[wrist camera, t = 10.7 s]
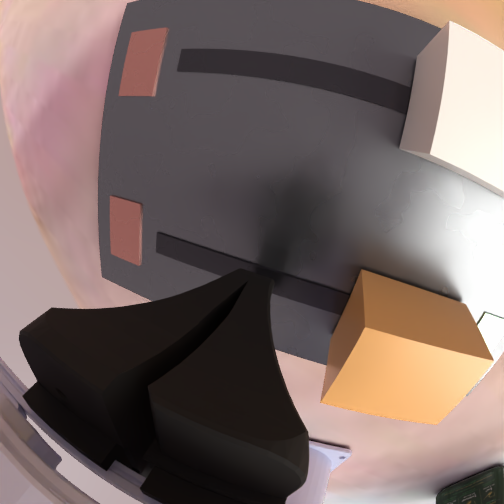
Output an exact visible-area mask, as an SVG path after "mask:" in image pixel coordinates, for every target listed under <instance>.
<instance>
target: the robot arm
mask: <svg viewBox="0 0 504 504" xmlns="http://www.w3.org/2000/svg"><path fill="white" fill-rule="evenodd" d="M274 284H275V282H274V280H273V279H272V278H269V277H266V276H263V275H260V274H257V273H254V272H251V271H248V270H245V269H242V268H239V269H237V270H235V271H233V272H231V273H229V274H226V275H224V276H222V277H220V278H218V279H216V280H214V281H211V282H209V283H207V284H205V285H202V286H200V287H197V288H194V289H192V290H189V291H186V292H184V293H181V294H178V295H175V296H171V297H168V298H164V299H160V300H156V301H152V302H148V303H142V304H136V305H130V306H124V307H115V308H102V309H65V308H51V309H49V310H48V311H46V312H45V313H44V314H42V315H41V316H40V317H38V318H37V319H36V320H34V321H33V322H31V323H30V324H29V325H27V326H26V327H25V328H24V329H22V330H21V331H20V335H19V341H20V346H21V348H22V351H23V353H24V355H25V357H26V359H27V362H28V364H29V365H30V368H31V370H32V371H33V373H34V375H35V377H36V379H37V382H36V383H35V384H34V385H33V386H32V387H31V388H30V389H28V388H27V387H26V386H25V385H24V384H23V383H22V382H21V380H19V378H18V377H17V376H16V375H15V374H14V373H13V372H12V370H11V369H10V368H9V367H8V366H7V365H6V364H5V362H4V361H3V360H2V359H1V357H0V504H100V503H98V502H96V501H95V500H94V499H92V498H91V497H89V496H88V495H87V494H85V493H84V492H82V491H81V490H80V489H79V488H77V487H76V486H75V485H73V484H72V483H71V482H70V481H68V480H67V479H66V478H65V477H63V476H62V475H61V474H60V473H59V472H58V471H56V467H57V465H58V464H59V463H60V462H61V461H62V459H61V457H60V456H59V455H58V454H57V453H56V452H55V451H54V450H53V449H52V448H51V447H50V446H49V445H48V444H47V443H46V442H45V441H44V439H43V438H42V437H41V436H40V435H39V433H38V432H37V431H36V430H35V428H33V426H32V425H31V424H30V423H29V422H28V421H27V420H26V419H27V416H26V414H27V415H28V416H29V417H30V418H31V419H32V420H33V421H34V422H35V423H36V424H37V425H38V426H39V427H40V428H41V429H42V430H43V431H44V432H45V433H46V434H48V436H49V437H50V438H51V439H53V440H54V441H55V442H56V443H57V444H58V445H60V446H61V447H62V448H63V449H64V450H65V451H66V452H68V453H69V454H70V455H71V456H73V457H74V458H75V459H76V460H78V461H79V462H80V463H82V464H83V465H84V466H85V467H87V468H88V469H90V470H91V471H92V472H94V473H95V474H97V475H98V476H99V477H101V478H102V479H104V480H105V481H107V482H108V483H110V484H111V485H113V486H114V487H116V488H118V489H119V490H121V491H122V492H124V493H126V494H127V495H129V496H131V497H133V498H134V499H136V500H138V501H140V502H142V503H143V504H323V503H324V499H325V494H326V490H327V486H328V481H329V476H330V472H331V471H333V470H334V469H335V468H336V467H338V466H339V465H340V464H341V463H343V462H344V461H345V460H346V459H348V458H349V457H350V456H351V454H352V451H351V450H350V449H346V448H341V447H336V446H331V445H326V444H322V443H318V442H313V441H309V436H308V431H307V429H306V427H305V425H304V423H303V422H302V420H301V418H300V416H299V414H298V412H297V410H296V408H295V406H294V404H293V401H292V399H291V397H290V395H289V392H288V390H287V387H286V384H285V381H284V379H283V376H282V373H281V370H280V367H279V364H278V360H277V356H276V352H275V347H274V342H273V336H272V328H271V316H270V300H271V295H272V291H273V288H274Z"/></svg>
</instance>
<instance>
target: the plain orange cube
mask: <svg viewBox="0 0 504 504" xmlns="http://www.w3.org/2000/svg"><path fill="white" fill-rule="evenodd" d="M493 362H494V359H493V357H492V355H491V353H490V350H489V348H488V346H487V344H486V342H485V340H484V338H483V336H482V334H481V332H480V330H479V328H478V326H477V324H476V322H475V320H474V318H473V316H472V314H471V312H470V311H469V309H468V307H467V305H466V304H464V303H461V302H459V301H456V300H453V299H450V298H447V297H444V296H441V295H438V294H435V293H432V292H429V291H426V290H423V289H420V288H417V287H414V286H411V285H408V284H405V283H402V282H399V281H396V280H393V279H390V278H387V277H384V276H381V275H378V274H375V273H372V272H369V271H366V270H363V269H361V271H360V274H359V276H358V279H357V281H356V284H355V286H354V289H353V291H352V293H351V296H350V298H349V300H348V302H347V305H346V307H345V309H344V311H343V314H342V316H341V318H340V320H339V322H338V325H337V327H336V329H335V331H334V333H333V335H332V337H331V339H330V346H329V353H328V360H327V366H326V373H325V379H324V384H323V390H322V396H321V401H320V403H324V404H327V405H331V406H335V407H339V408H343V409H348V410H352V411H356V412H361V413H366V414H371V415H376V416H381V417H386V418H392V419H398V420H404V421H411V422H418V423H426V424H434V425H437V424H438V423H439V422H440V421H441V420H442V419H443V418H444V417H445V416H446V415H447V414H448V413H449V412H450V411H451V410H452V409H453V408H454V407H455V406H456V405H457V404H458V403H459V402H460V401H461V400H462V399H463V398H464V397H465V396H466V395H467V393H468V392H469V391H470V390H471V389H472V388H473V387H474V386H475V384H476V383H477V382H478V381H479V380H480V378H481V377H482V376H483V375H484V374H485V372H486V371H487V370H488V368H489V367H490V366H491V365H492V363H493Z"/></svg>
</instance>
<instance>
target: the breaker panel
mask: <svg viewBox="0 0 504 504" xmlns="http://www.w3.org/2000/svg"><path fill="white" fill-rule="evenodd" d="M440 30H441V28H438V27H436V26H434V25H431V24H429V23H427V22H424V21H422V20H419V19H416V18H414V17H411V16H408V15H406V14H403V13H400V12H397V11H394V10H390V9H387V8H384V7H381V6H377V5H373V4H370V3H366V2H362V1H358V0H139V1H134V2H130V3H127V6H126V9H125V12H124V16H123V19H122V23H121V26H120V30H119V34H118V38H117V42H116V46H115V50H114V55H113V59H112V64H111V69H110V74H109V80H108V85H107V91H106V98H105V105H104V113H103V121H102V131H101V142H100V156H99V177H98V223H99V245H100V260H101V271H102V277H103V278H105V279H107V280H109V281H111V282H113V283H115V284H117V285H120V286H122V287H124V288H126V289H128V290H130V291H132V292H134V293H136V294H138V295H141V296H143V297H145V298H147V299H149V300H151V301H156V300H160V299H164V298H168V297H171V296H175V295H178V294H181V293H184V292H186V291H189V290H192V289H194V288H197V287H200V286H202V285H205V284H207V283H209V282H211V281H214V280H216V279H218V278H220V277H222V276H224V275H226V274H229V273H231V272H233V271H235V270H237V269H239V268H242V269H245V270H248V271H251V272H254V273H257V274H260V275H263V276H266V277H269V278H272V279H273V280H274V282H275V284H274V288H273V291H272V295H271V300H270V316H271V328H272V336H273V342H274V347H275V349H276V350H279V351H282V352H285V353H288V354H291V355H294V356H297V357H301V358H304V359H307V360H310V361H314V362H317V363H320V364H324V365H327V360H328V353H329V346H330V339H331V337H332V335H333V333H334V331H335V329H336V327H337V325H338V322H339V320H340V318H341V316H342V314H343V311H344V309H345V307H346V305H347V302H348V300H349V298H350V296H351V293H352V291H353V289H354V286H355V284H356V281H357V279H358V276H359V274H360V271H361V269H363V270H366V271H369V272H372V273H375V274H378V275H381V276H384V277H387V278H390V279H393V280H396V281H399V282H402V283H405V284H408V285H411V286H414V287H417V288H420V289H423V290H426V291H429V292H432V293H435V294H438V295H441V296H444V297H447V298H450V299H453V300H456V301H459V302H461V303H464V304H466V305H467V307H468V309H469V311H470V312H471V314H472V316H473V318H474V320H475V322H476V324H477V326H478V328H479V330H480V332H481V334H482V336H483V338H484V340H485V342H486V344H487V346H488V348H489V350H490V353H491V355H492V357H493V359H494V362H493V363H492V365H491V366H490V367H489V368H488V370H487V371H486V372H485V374H484V375H483V376H482V377H481V378H480V380H479V381H478V382H477V383H476V384H475V386H474V387H473V388H472V389H471V390H470V391H469V392H468V393H467V395H466V396H468V395H469V394H470V393H471V392H472V390H473V389H474V388H475V387H476V386H477V385H478V384H479V382H480V381H481V380H482V379H483V378H484V376H485V375H486V374H487V373H488V371H489V370H490V369H491V368H492V366H493V365H494V364H495V362H496V361H497V360H498V358H499V357H500V356H501V354H502V353H503V352H504V198H503V197H501V196H499V195H498V194H496V193H494V192H492V191H491V190H489V189H487V188H485V187H483V186H481V185H479V184H478V183H476V182H474V181H472V180H470V179H468V178H466V177H464V176H462V175H460V174H458V173H455V172H453V171H451V170H449V169H447V168H445V167H442V166H440V165H438V164H436V163H433V162H431V161H429V160H426V159H424V158H422V157H419V156H417V155H414V154H412V153H409V152H406V151H404V150H401V149H399V147H400V143H401V139H402V134H403V130H404V126H405V121H406V117H407V112H408V107H409V102H410V97H411V91H412V86H413V80H414V74H415V67H416V60H417V56H418V55H419V54H420V52H421V51H422V50H423V49H424V48H425V47H426V46H427V45H428V44H429V42H430V41H431V40H432V39H433V38H434V37H435V36H436V35H437V34H438V32H439V31H440Z"/></svg>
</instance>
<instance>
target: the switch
mask: <svg viewBox="0 0 504 504" xmlns="http://www.w3.org/2000/svg"><path fill="white" fill-rule="evenodd" d="M399 149H401V150H404V151H406V152H409V153H412V154H414V155H417V156H419V157H422V158H424V159H426V160H429V161H431V162H433V163H436V164H438V165H440V166H442V167H445V168H447V169H449V170H451V171H453V172H455V173H458V174H460V175H462V176H464V177H466V178H468V179H470V180H472V181H474V182H476V183H478V184H479V185H481V186H483V187H485V188H487V189H489V190H491V191H492V192H494V193H496V194H498V195H499V196H501V197H503V198H504V51H503V50H502V49H500V48H499V47H497V46H496V45H494V44H492V43H491V42H489V41H487V40H486V39H484V38H482V37H481V36H479V35H477V34H475V33H473V32H472V31H470V30H468V29H466V28H464V27H462V26H460V25H458V24H456V23H454V22H452V21H450V20H449V21H448V23H447V24H446V25H445V26H444V27H443V28H442V29H441V30H440V31H439V32H438V34H437V35H436V36H435V37H434V38H433V39H432V40H431V41H430V42H429V44H428V45H427V46H426V47H425V48H424V49H423V50H422V51H421V52H420V54H419V55H418V56H417V60H416V67H415V74H414V80H413V86H412V91H411V97H410V102H409V107H408V112H407V117H406V121H405V126H404V130H403V134H402V139H401V143H400V147H399Z"/></svg>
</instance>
